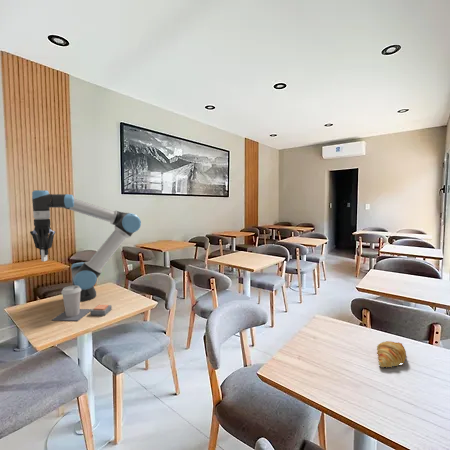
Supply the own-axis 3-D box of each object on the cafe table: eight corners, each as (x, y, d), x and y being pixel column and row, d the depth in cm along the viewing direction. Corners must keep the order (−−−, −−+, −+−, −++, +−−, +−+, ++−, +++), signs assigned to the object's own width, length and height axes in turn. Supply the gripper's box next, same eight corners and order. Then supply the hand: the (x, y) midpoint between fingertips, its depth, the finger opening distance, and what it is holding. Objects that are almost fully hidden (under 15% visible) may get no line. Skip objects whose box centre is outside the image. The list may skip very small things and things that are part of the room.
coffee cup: (76, 318, 141) (74, 290, 139) (58, 317, 141) (56, 290, 139) (86, 310, 150) (84, 285, 149) (69, 310, 150) (68, 284, 149)
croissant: (388, 381, 98) (401, 369, 95) (364, 359, 104) (375, 346, 101) (406, 358, 112) (418, 346, 108) (383, 339, 118) (394, 327, 115)
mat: (68, 309, 153) (68, 308, 153) (92, 310, 152) (92, 309, 152) (51, 320, 139) (51, 319, 139) (77, 321, 138) (77, 320, 138)
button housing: (98, 309, 153) (97, 305, 153) (111, 309, 153) (111, 305, 153) (90, 315, 145) (90, 310, 145) (104, 315, 145) (104, 311, 145)
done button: (98, 308, 152) (98, 304, 152) (108, 308, 152) (108, 304, 151) (93, 312, 146) (93, 308, 146) (103, 313, 146) (103, 308, 146)
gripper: (25, 219, 141) (28, 262, 144) (48, 219, 141) (51, 262, 143) (35, 218, 149) (38, 259, 151) (58, 218, 148) (60, 259, 151)
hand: (44, 260), depth 147 cm, fingers closed
